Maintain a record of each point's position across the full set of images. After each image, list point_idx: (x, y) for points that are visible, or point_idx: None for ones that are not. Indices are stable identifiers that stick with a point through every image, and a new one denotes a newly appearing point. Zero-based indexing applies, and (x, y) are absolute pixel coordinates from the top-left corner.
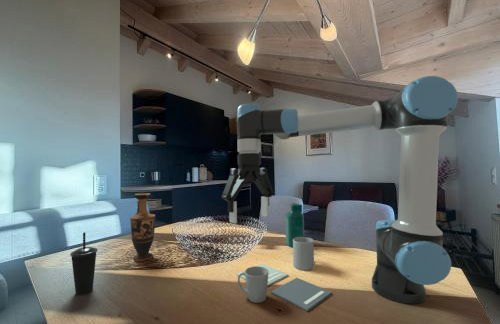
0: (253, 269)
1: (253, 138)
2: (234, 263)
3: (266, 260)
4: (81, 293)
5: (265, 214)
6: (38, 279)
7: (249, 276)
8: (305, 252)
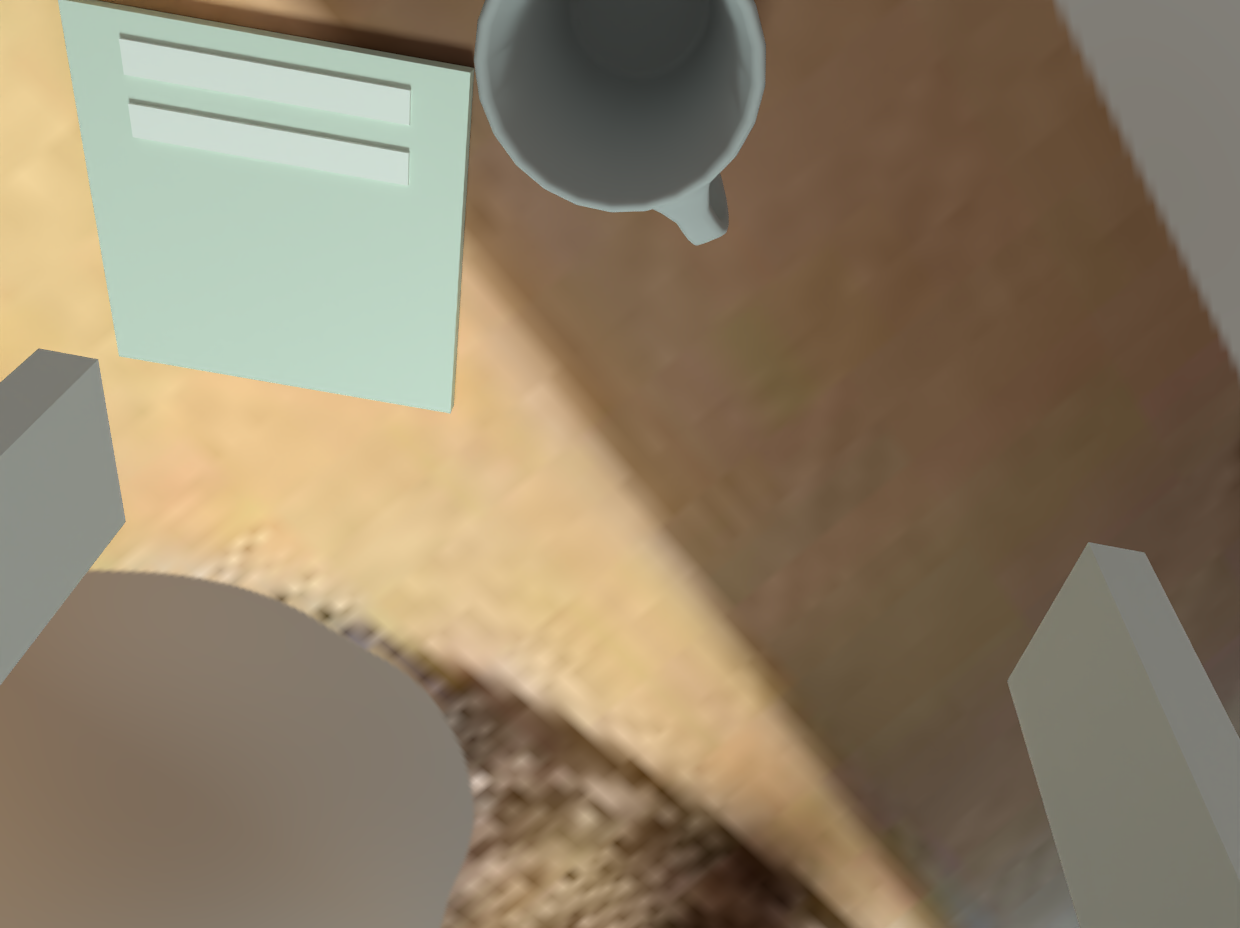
0: (554, 167)
1: None
2: (305, 547)
3: None
4: None
5: (79, 436)
6: None
7: (764, 69)
8: None
